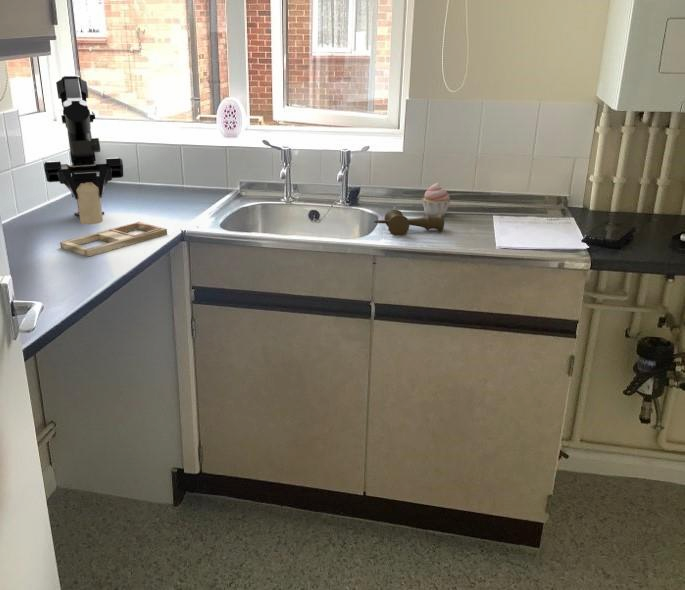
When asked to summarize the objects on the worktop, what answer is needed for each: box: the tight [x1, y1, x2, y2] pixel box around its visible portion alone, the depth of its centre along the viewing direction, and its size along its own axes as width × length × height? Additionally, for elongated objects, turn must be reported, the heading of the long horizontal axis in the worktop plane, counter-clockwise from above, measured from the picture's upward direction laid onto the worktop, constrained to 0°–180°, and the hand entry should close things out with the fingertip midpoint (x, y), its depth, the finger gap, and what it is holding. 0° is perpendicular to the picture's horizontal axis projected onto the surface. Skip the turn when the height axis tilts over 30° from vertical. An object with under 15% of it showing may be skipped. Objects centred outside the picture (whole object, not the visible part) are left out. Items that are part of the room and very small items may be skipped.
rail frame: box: [59, 221, 168, 257], centre depth 179 cm, size 12×25×2 cm, turn 144°
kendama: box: [373, 208, 445, 237], centre depth 190 cm, size 6×10×20 cm
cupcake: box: [420, 182, 452, 217], centre depth 206 cm, size 9×9×10 cm
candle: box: [76, 182, 104, 225], centre depth 170 cm, size 6×6×10 cm
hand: (88, 197), depth 168 cm, fingers closed on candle, 5 cm apart
